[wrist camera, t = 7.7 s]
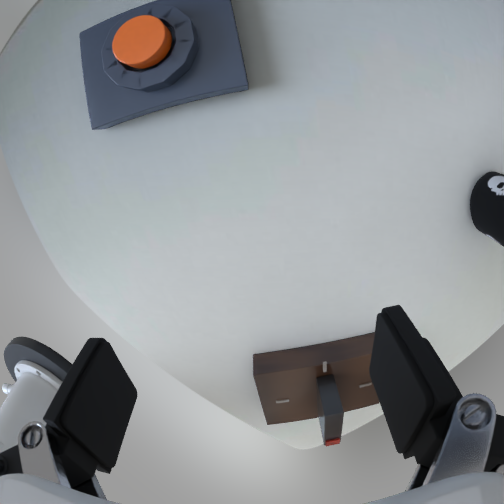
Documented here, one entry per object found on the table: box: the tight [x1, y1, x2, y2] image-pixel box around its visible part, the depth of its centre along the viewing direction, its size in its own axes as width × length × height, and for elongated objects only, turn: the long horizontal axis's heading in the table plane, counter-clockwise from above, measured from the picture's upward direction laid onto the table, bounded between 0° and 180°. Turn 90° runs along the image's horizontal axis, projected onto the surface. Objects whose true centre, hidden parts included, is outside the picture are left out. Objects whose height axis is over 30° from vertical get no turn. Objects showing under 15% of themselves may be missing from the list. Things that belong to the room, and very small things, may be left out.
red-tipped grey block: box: [316, 374, 344, 446], centre depth 25 cm, size 6×2×5 cm, turn 10°
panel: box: [253, 332, 379, 425], centre depth 29 cm, size 14×11×3 cm
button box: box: [80, 0, 248, 130], centre depth 16 cm, size 12×9×4 cm
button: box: [112, 15, 172, 69], centre depth 13 cm, size 4×4×2 cm
